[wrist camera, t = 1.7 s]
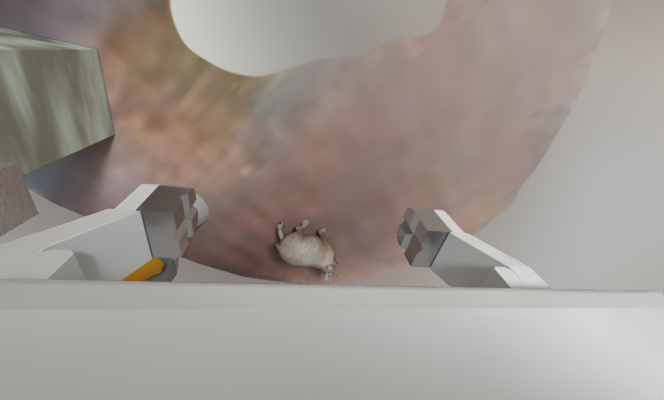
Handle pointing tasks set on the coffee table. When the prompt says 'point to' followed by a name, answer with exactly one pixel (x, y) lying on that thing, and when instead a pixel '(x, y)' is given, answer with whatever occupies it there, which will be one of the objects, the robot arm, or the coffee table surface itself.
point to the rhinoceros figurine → (307, 250)
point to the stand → (49, 99)
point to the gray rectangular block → (13, 198)
